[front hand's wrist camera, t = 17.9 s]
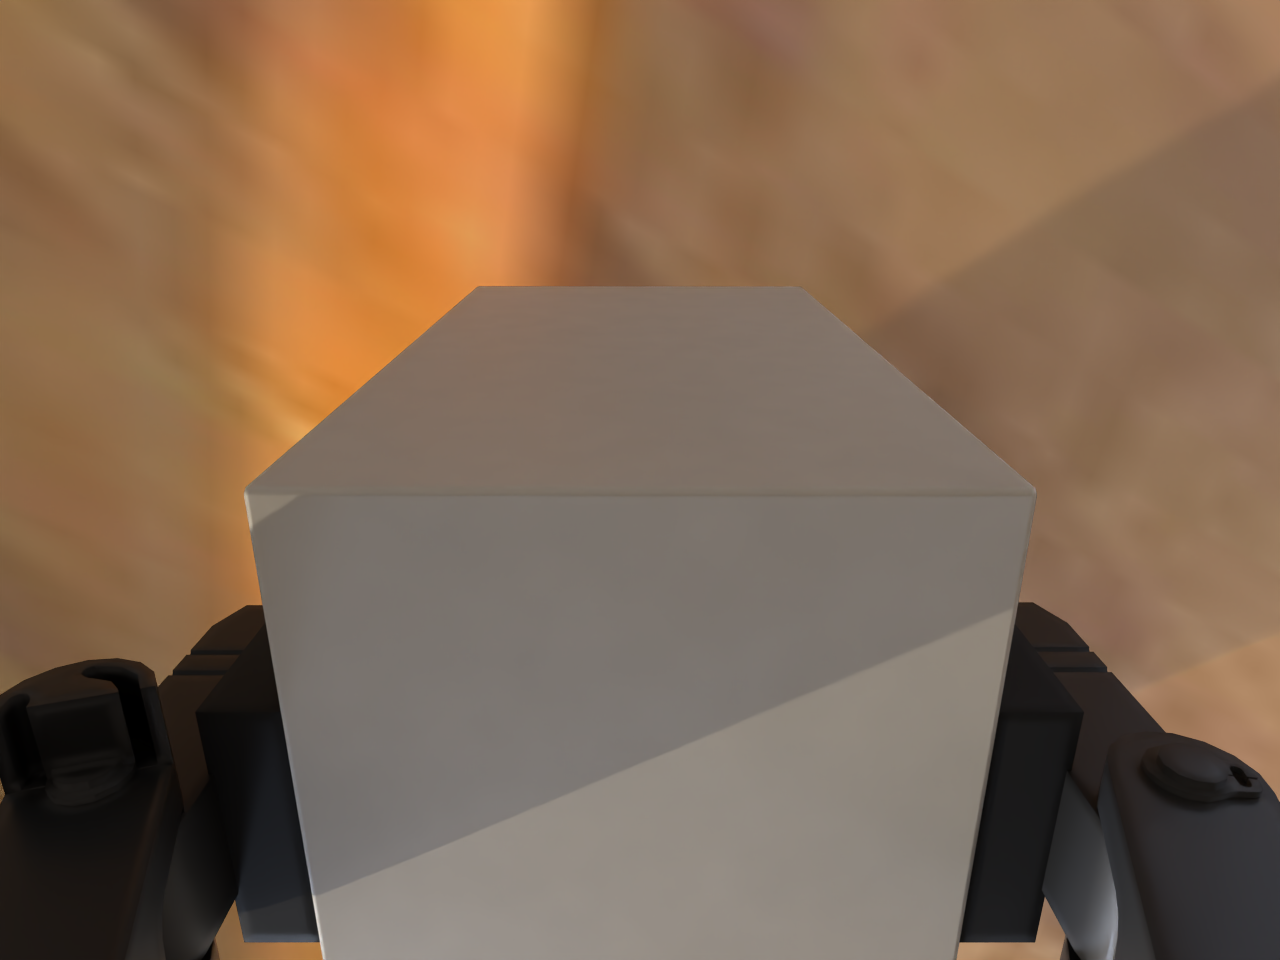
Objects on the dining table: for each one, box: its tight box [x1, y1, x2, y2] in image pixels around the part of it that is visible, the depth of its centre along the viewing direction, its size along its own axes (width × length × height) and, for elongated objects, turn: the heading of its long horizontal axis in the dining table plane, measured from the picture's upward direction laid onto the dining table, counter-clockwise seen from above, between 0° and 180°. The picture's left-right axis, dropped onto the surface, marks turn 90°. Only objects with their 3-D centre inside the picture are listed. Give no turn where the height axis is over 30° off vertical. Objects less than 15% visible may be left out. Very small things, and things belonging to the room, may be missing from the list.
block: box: [244, 286, 1037, 960], centre depth 13 cm, size 7×6×11 cm
